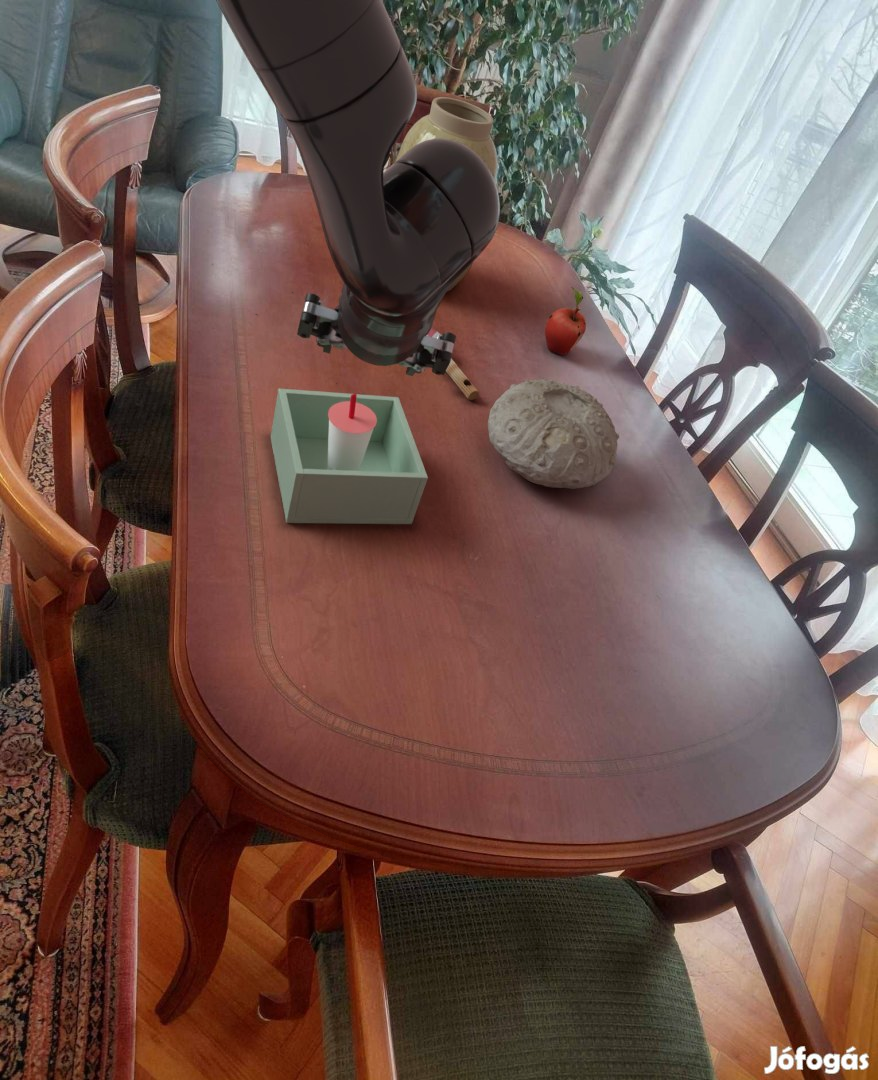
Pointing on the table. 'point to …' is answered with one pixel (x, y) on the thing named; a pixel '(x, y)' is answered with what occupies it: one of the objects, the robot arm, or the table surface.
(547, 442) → the decorative shell
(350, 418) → the cup
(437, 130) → the vase
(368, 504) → the bin
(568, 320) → the apple
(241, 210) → the table surface
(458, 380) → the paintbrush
